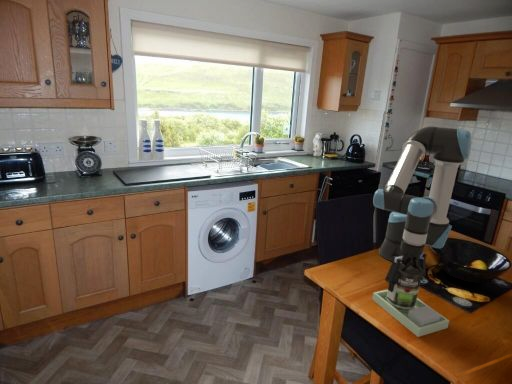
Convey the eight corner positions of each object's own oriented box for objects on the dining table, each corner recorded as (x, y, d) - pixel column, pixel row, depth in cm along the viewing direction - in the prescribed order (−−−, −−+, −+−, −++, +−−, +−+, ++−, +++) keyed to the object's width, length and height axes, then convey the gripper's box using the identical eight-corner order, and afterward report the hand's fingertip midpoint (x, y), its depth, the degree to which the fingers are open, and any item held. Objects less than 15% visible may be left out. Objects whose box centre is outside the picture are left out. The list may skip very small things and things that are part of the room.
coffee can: (418, 311, 121) (426, 276, 117) (388, 306, 123) (395, 272, 119) (412, 295, 131) (419, 262, 127) (384, 291, 133) (390, 258, 129)
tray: (399, 294, 137) (400, 286, 136) (447, 329, 117) (449, 320, 116) (371, 300, 131) (373, 292, 130) (417, 338, 112) (419, 329, 111)
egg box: (423, 316, 123) (426, 305, 121) (437, 326, 117) (440, 315, 116) (407, 320, 120) (409, 310, 118) (420, 331, 114) (423, 320, 113)
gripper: (427, 233, 128) (416, 285, 134) (381, 240, 119) (371, 295, 125) (445, 242, 121) (431, 295, 127) (397, 250, 112) (385, 307, 119)
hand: (401, 295), depth 126 cm, fingers closed on coffee can, 10 cm apart
